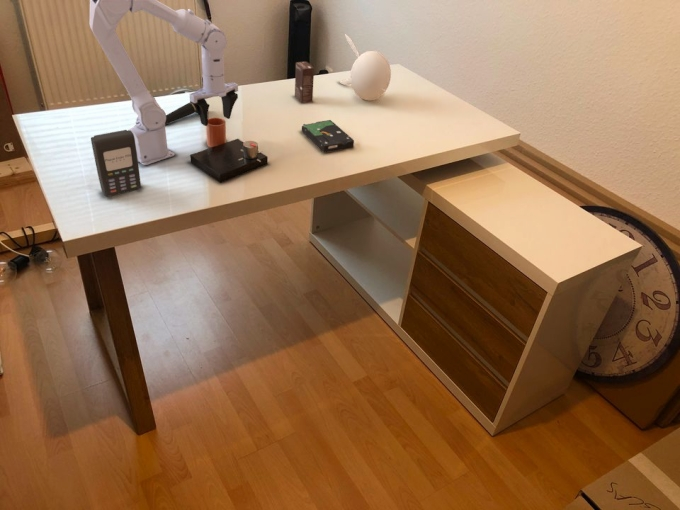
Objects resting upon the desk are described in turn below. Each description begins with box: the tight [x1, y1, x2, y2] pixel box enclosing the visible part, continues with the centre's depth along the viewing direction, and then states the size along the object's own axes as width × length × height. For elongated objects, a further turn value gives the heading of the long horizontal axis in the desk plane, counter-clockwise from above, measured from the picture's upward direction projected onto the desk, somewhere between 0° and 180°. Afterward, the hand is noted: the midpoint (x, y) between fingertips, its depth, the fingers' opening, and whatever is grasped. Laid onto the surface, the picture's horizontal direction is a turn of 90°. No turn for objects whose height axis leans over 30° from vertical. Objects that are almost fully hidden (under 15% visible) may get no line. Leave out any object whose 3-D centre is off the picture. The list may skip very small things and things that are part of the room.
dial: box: [243, 140, 259, 159], centre depth 149 cm, size 4×4×4 cm
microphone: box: [165, 99, 208, 126], centre depth 167 cm, size 6×6×20 cm
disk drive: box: [301, 119, 355, 153], centre depth 166 cm, size 10×3×15 cm
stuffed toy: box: [339, 33, 392, 101], centre depth 192 cm, size 19×14×25 cm
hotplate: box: [189, 138, 269, 184], centre depth 149 cm, size 17×14×3 cm
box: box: [294, 61, 315, 104], centre depth 185 cm, size 6×4×12 cm
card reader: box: [90, 129, 142, 197], centre depth 130 cm, size 9×4×15 cm, turn 126°
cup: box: [205, 117, 227, 148], centre depth 156 cm, size 5×5×7 cm
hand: (215, 121), depth 154 cm, fingers open, 7 cm apart
